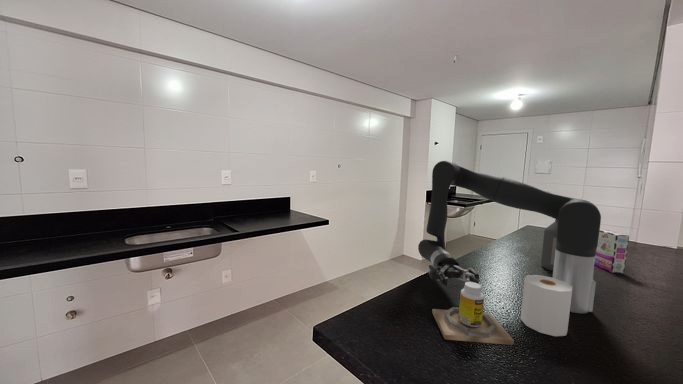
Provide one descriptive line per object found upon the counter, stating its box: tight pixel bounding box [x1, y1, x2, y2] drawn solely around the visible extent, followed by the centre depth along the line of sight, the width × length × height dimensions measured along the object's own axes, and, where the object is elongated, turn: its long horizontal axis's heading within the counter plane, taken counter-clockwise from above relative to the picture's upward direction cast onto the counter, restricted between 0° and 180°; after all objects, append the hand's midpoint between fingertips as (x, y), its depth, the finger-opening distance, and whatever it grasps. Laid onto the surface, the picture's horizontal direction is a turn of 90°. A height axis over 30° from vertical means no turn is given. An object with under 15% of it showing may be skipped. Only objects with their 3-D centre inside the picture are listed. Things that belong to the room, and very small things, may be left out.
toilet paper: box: [520, 274, 573, 337], centre depth 72 cm, size 10×10×12 cm
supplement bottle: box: [458, 281, 485, 327], centre depth 70 cm, size 6×6×10 cm
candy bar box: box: [594, 229, 630, 274], centre depth 117 cm, size 11×5×16 cm, turn 172°
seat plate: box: [431, 306, 515, 346], centre depth 70 cm, size 16×12×2 cm
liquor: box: [540, 219, 558, 272], centre depth 114 cm, size 9×9×30 cm
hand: (461, 283), depth 77 cm, fingers open, 8 cm apart
